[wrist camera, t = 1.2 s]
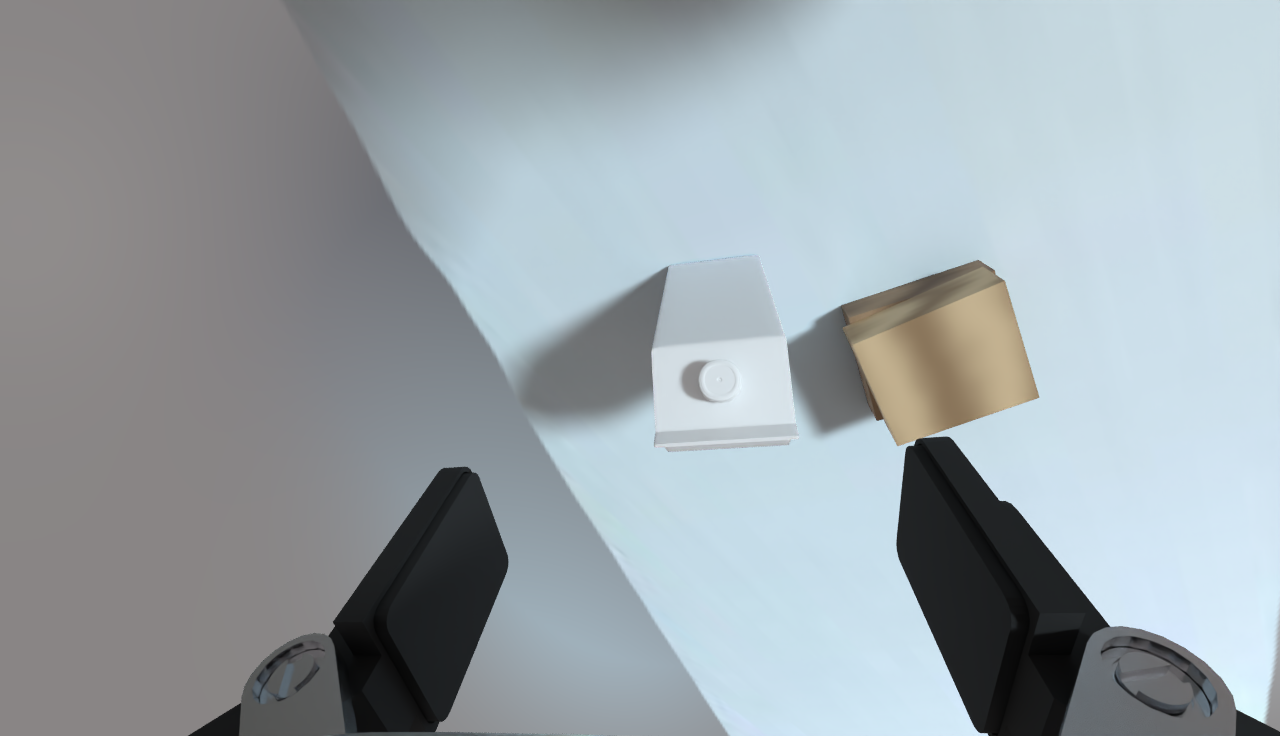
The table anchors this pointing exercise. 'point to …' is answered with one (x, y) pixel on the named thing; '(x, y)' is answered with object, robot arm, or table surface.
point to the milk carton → (720, 360)
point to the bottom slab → (894, 296)
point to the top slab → (944, 356)
